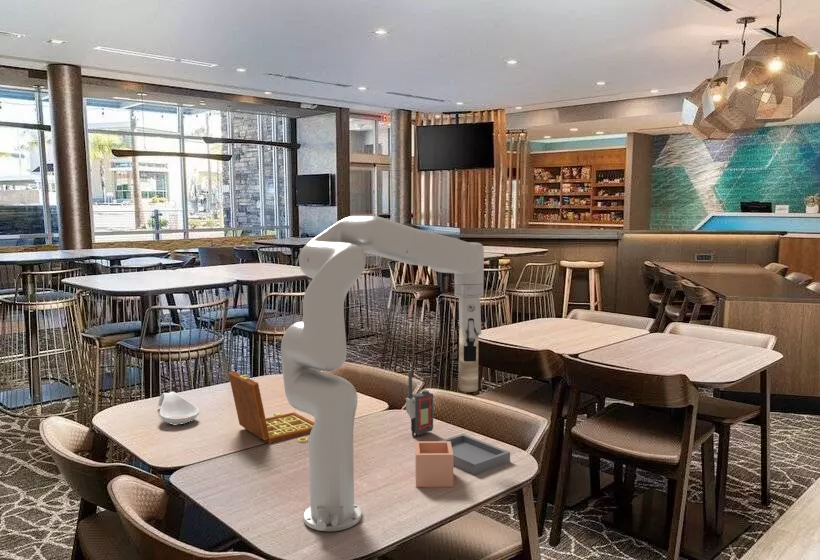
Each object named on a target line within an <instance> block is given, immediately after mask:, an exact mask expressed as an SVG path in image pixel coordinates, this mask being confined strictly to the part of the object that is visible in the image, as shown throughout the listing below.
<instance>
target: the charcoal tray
mask: <svg viewBox="0 0 820 560" xmlns="http://www.w3.org/2000/svg"><path fill="white" fill-rule="evenodd" d="M440 441H451V446H452V450H453V467H456V468H457V469H460V470H461V471H464V472H466V473H469V474H471V475H473V476H477V475H479V474H482V473H485V472H487V471H490V470H493V469H495V468H498V467H500V466H503V465H505V464H509V463H510V462H511V452H510V451H509V450H508V451H507V450H505V449H504V448H500V447H498V446H495V445H492V444H490V443H487V442H485V441H482V440H480V439H477V438H475V437H471V436H470V435H466V434H465V433H462V434H458V435H454V436H451V437H448V438H444V439H442V440H440Z"/></svg>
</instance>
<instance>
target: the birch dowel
mask: <svg viewBox="0 0 820 560" xmlns="http://www.w3.org/2000/svg"><path fill="white" fill-rule="evenodd" d="M466 330H467V329H466ZM458 334H459V335H458V349H459V351H458V353H459V355H458V356H459V358H458V359H459V360H458V361H459V363H458V365H459V366H458V368H459V369H458V372H459V373H458V375H459V376H458V381H459V382H458V389H459V391H462V392H466V393H468V392H469V393H470V392H477V391H478V390H479V335H478V333H476V330H475V335H476V361H469V362H465V361H464V346H465V336H464V334H462V331H461V329H460V328H459V330H458ZM466 334H469V332H466ZM467 338H468V337H467Z"/></svg>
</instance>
